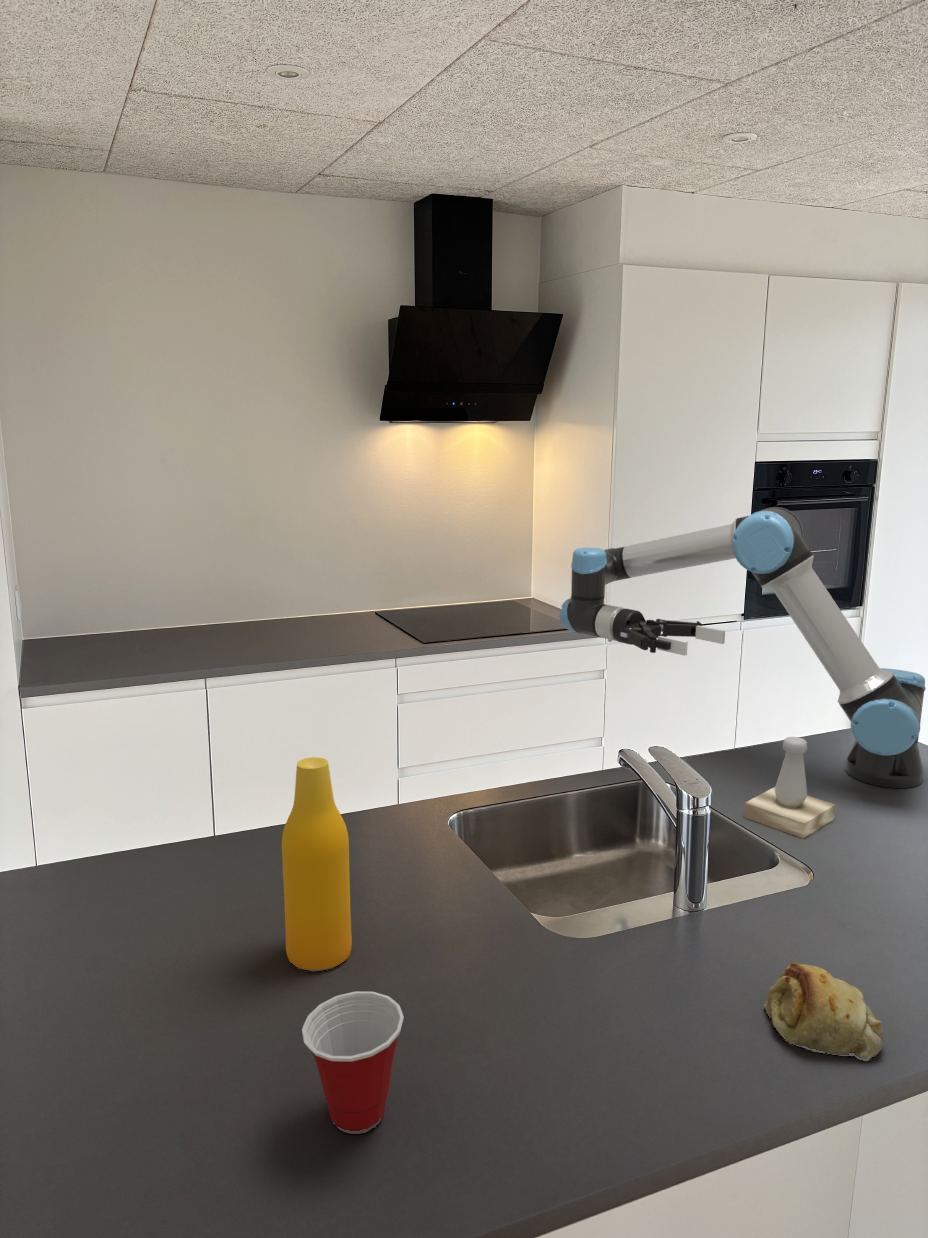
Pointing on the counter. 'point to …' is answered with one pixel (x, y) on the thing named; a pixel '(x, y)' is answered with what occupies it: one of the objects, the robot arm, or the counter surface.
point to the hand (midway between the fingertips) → (705, 643)
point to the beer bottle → (316, 873)
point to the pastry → (823, 1013)
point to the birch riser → (789, 814)
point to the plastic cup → (354, 1054)
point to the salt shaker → (792, 774)
